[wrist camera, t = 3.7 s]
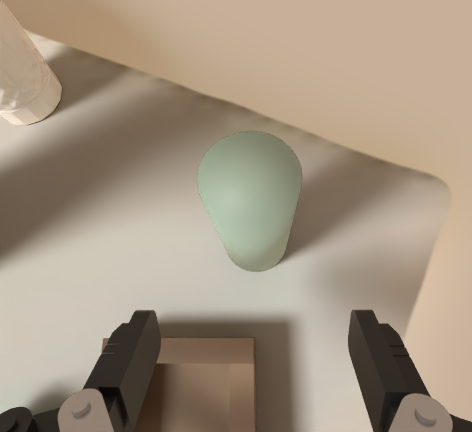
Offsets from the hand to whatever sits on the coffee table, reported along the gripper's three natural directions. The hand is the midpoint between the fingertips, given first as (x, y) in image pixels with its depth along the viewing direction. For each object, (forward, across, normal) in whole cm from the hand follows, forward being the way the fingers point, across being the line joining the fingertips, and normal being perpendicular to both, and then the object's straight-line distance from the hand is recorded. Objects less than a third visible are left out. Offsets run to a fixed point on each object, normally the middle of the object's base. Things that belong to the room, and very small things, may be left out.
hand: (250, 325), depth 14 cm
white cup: (+24, +23, -7) cm, 34 cm away
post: (+13, 0, +4) cm, 14 cm away
